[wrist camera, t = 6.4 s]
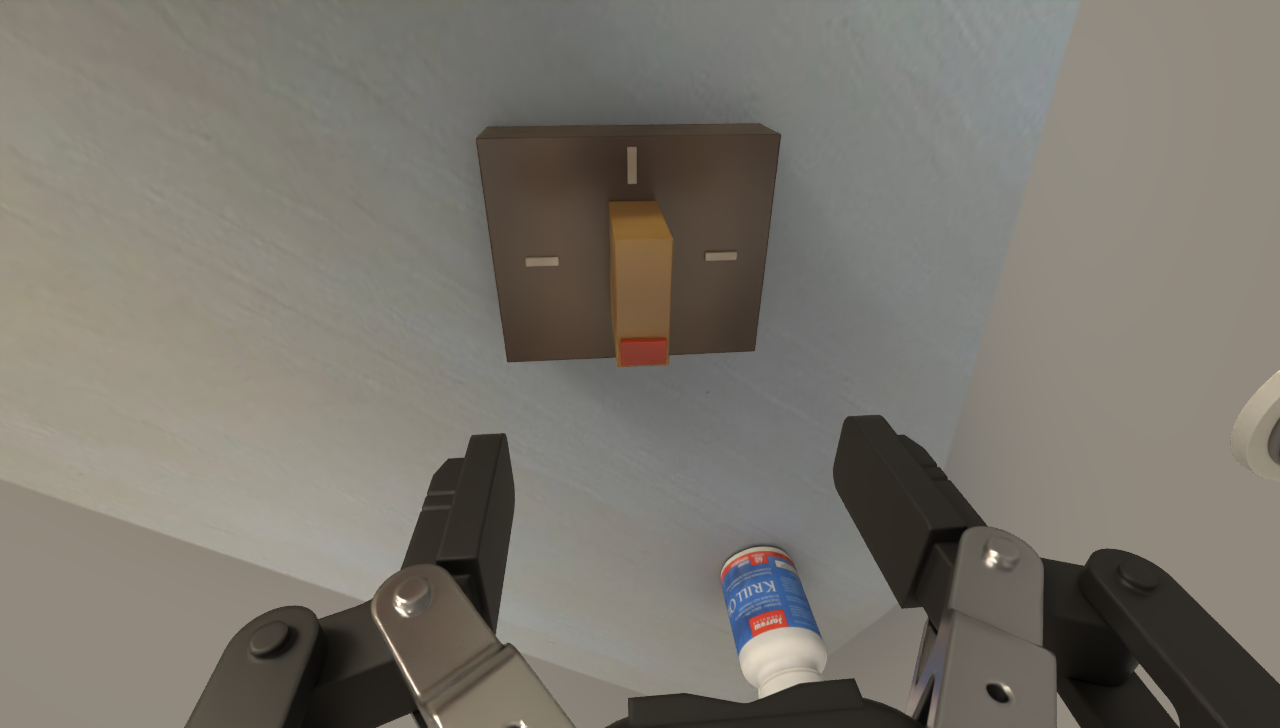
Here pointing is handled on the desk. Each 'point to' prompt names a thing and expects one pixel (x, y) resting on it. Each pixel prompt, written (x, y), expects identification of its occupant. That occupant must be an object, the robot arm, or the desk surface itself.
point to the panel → (579, 230)
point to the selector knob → (640, 282)
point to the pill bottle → (771, 621)
